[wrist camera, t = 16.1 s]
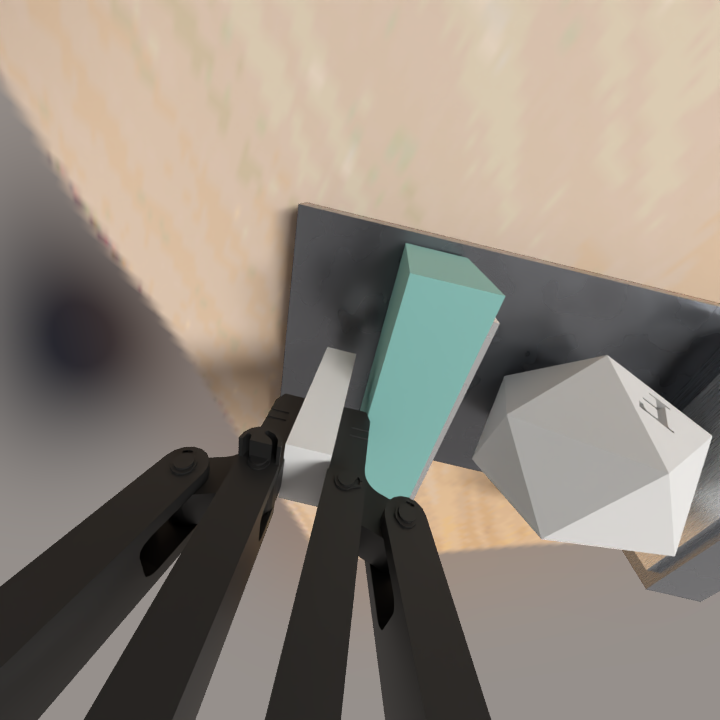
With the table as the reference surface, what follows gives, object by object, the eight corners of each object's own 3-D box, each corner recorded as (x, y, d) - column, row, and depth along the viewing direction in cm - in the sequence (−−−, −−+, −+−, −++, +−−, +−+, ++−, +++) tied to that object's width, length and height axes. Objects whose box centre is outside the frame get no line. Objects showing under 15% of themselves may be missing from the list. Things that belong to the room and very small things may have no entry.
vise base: (307, 202, 15) (240, 213, 9) (795, 322, 16) (1076, 417, 9) (284, 410, 22) (239, 500, 16) (621, 489, 23) (710, 609, 16)
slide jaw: (405, 242, 14) (410, 273, 9) (475, 260, 14) (518, 299, 9) (351, 439, 21) (337, 518, 16) (400, 450, 21) (401, 532, 16)
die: (620, 430, 19) (864, 460, 10) (534, 536, 19) (701, 680, 9) (516, 345, 20) (641, 297, 11) (432, 444, 20) (483, 485, 10)
